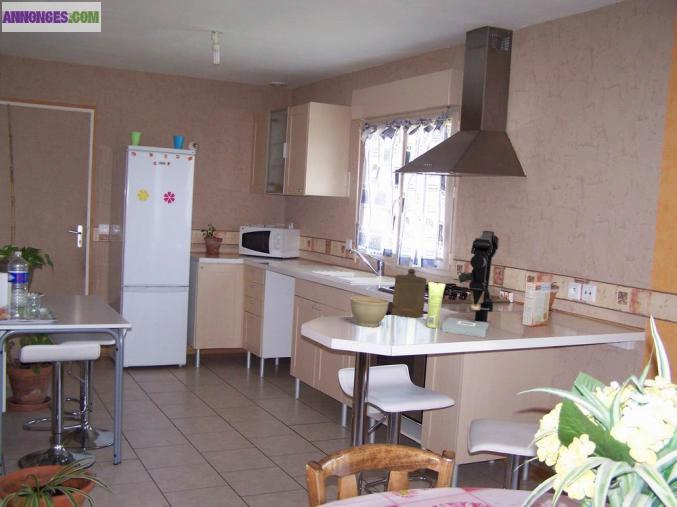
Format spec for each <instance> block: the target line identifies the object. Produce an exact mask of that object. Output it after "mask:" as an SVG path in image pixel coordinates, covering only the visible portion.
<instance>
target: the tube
mask: <svg viewBox="0 0 677 507" xmlns="http://www.w3.org/2000/svg"><path fill="white" fill-rule="evenodd" d="M427 284H428V297H427V298H428V300H427V302H428V303H427V314H426V315H427V316H426V327H427V328H431V329H438V327H439V321H440V317H441V316H440V315H441V307H442V302H443V298H444V294H445V293H444V291H445V288H446V283H443V282H442V283H441V282H431V281H428V283H427Z"/></svg>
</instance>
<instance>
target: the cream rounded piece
mask: <svg viewBox="0 0 677 507" xmlns="http://www.w3.org/2000/svg"><path fill="white" fill-rule="evenodd" d="M469 292H470V293H469V302H470V310H472V311H476V310H480V306H481V303H483V298H484V291H483V293H482V295H481V297H480V299H479V301H478V303H477V304H474V298H473V292H472V291H471V290H470V291H469Z"/></svg>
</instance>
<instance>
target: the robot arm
mask: <svg viewBox="0 0 677 507" xmlns="http://www.w3.org/2000/svg"><path fill="white" fill-rule="evenodd" d="M481 234H482V235H480V237H475V239H474V240H473V242H472V245H471V251H470V254H473V256H472V257H471V258H470V261H469V263H470V265H471V267H472V269H471V272H467V273H466V272H465V271H464V272H461V273H460V274H459V275H458V279H459V283H460V284H461V283H465V282H467V281H470V282H469V286H468V288H469V290H470V291H472V292H473V298H474V304H477V303H478V301H479V299H480V297H481V295H482V293H483V291H484V298H483V303H481V306H480V310H474V311H475V313H474V320H473V321H480V322H487V323H489V322H488V315H489V314H488V313H492V312H493V310H494V302H493V299H492V294H491V292H490V290H489V287H490V282H491V281H490V280H491V271H492V270H491V269H492V264H493V263H492V262H493V258H494V256H496V254H497V251H498V250H499V247H500V242H499V240H500V239H499V237H498V236H497V235H496V234H495V231H493V230H482V233H481Z"/></svg>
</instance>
